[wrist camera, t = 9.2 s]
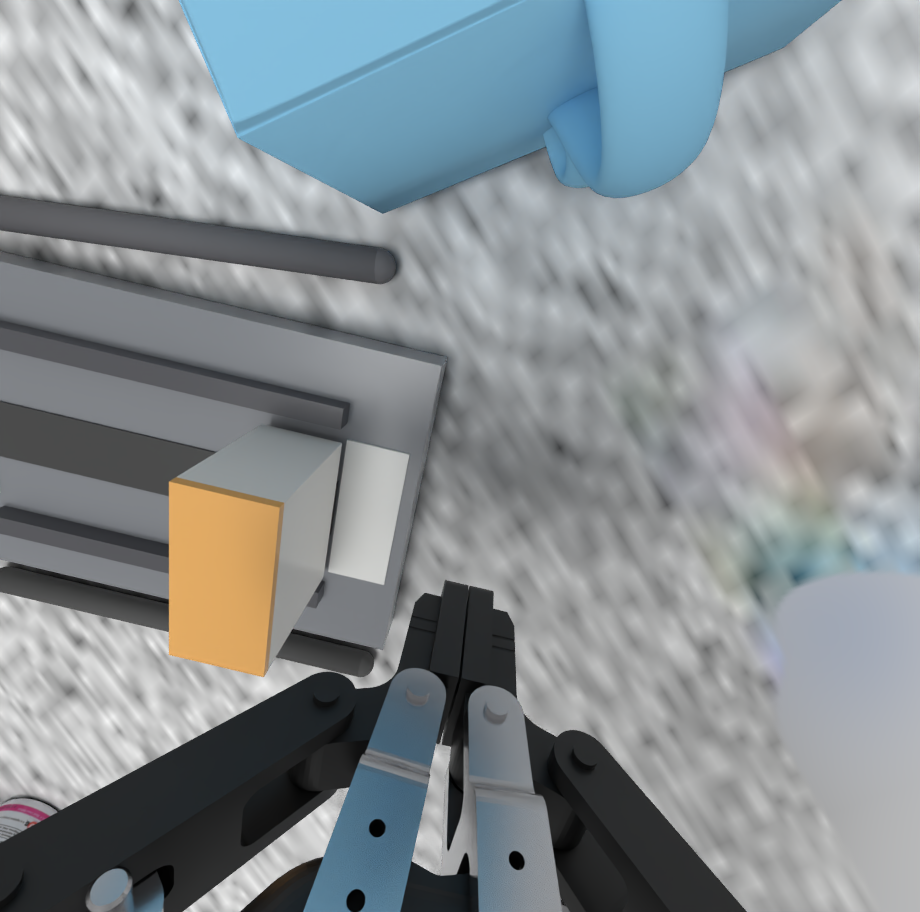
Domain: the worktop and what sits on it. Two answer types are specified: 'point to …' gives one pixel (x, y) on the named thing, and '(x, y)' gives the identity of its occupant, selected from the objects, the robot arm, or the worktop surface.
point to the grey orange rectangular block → (248, 546)
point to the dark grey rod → (167, 617)
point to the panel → (196, 430)
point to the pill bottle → (21, 816)
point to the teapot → (483, 84)
